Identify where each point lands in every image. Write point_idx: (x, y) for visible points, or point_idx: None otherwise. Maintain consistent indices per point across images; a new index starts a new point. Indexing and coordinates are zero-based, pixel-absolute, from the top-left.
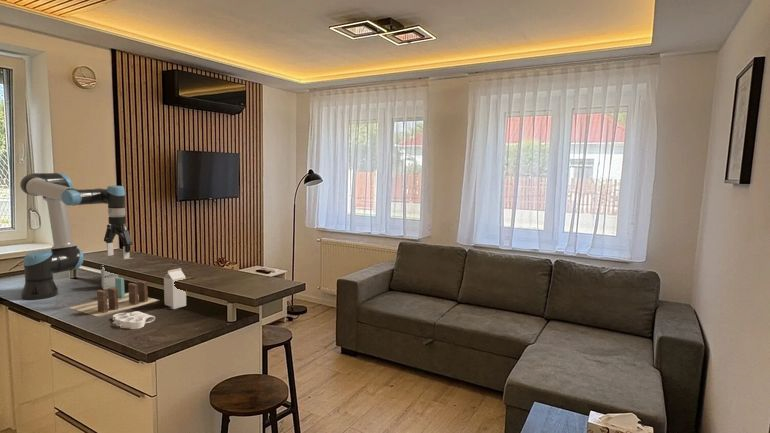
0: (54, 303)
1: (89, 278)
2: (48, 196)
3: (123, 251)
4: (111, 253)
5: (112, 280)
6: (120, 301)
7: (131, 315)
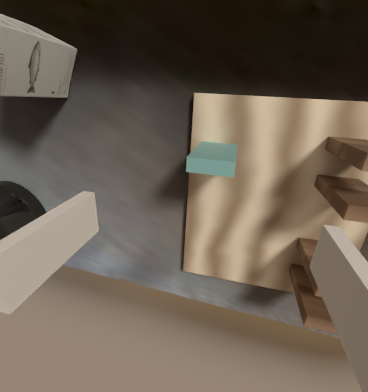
0: (107, 243)
1: None
2: None
3: (342, 332)
4: (86, 215)
5: (51, 65)
6: (268, 185)
7: None
